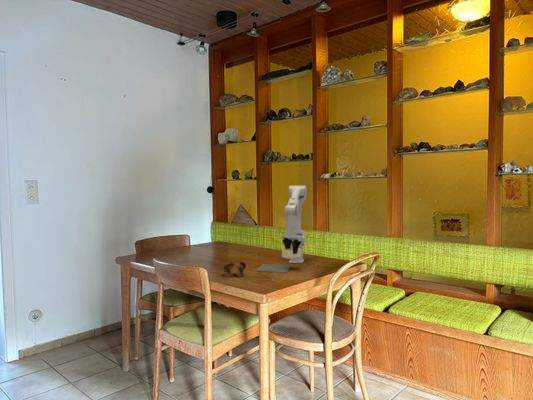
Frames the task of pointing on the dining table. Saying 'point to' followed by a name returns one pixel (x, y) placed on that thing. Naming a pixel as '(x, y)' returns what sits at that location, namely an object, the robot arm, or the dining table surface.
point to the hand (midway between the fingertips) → (291, 253)
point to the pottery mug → (237, 265)
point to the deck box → (290, 253)
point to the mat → (274, 268)
